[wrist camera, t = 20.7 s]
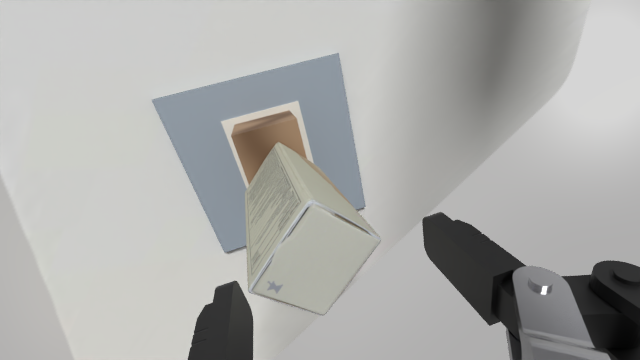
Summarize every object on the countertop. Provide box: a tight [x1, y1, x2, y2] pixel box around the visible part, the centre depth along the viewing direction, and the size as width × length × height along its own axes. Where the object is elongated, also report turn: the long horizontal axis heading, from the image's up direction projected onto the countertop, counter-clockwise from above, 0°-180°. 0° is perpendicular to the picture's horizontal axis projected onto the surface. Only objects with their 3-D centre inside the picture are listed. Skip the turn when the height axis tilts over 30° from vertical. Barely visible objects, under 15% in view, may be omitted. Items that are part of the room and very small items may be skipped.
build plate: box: [152, 53, 366, 252], centre depth 26 cm, size 16×16×1 cm
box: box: [245, 142, 381, 315], centre depth 17 cm, size 5×4×11 cm
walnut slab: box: [231, 110, 307, 185], centre depth 24 cm, size 5×9×4 cm, turn 13°
